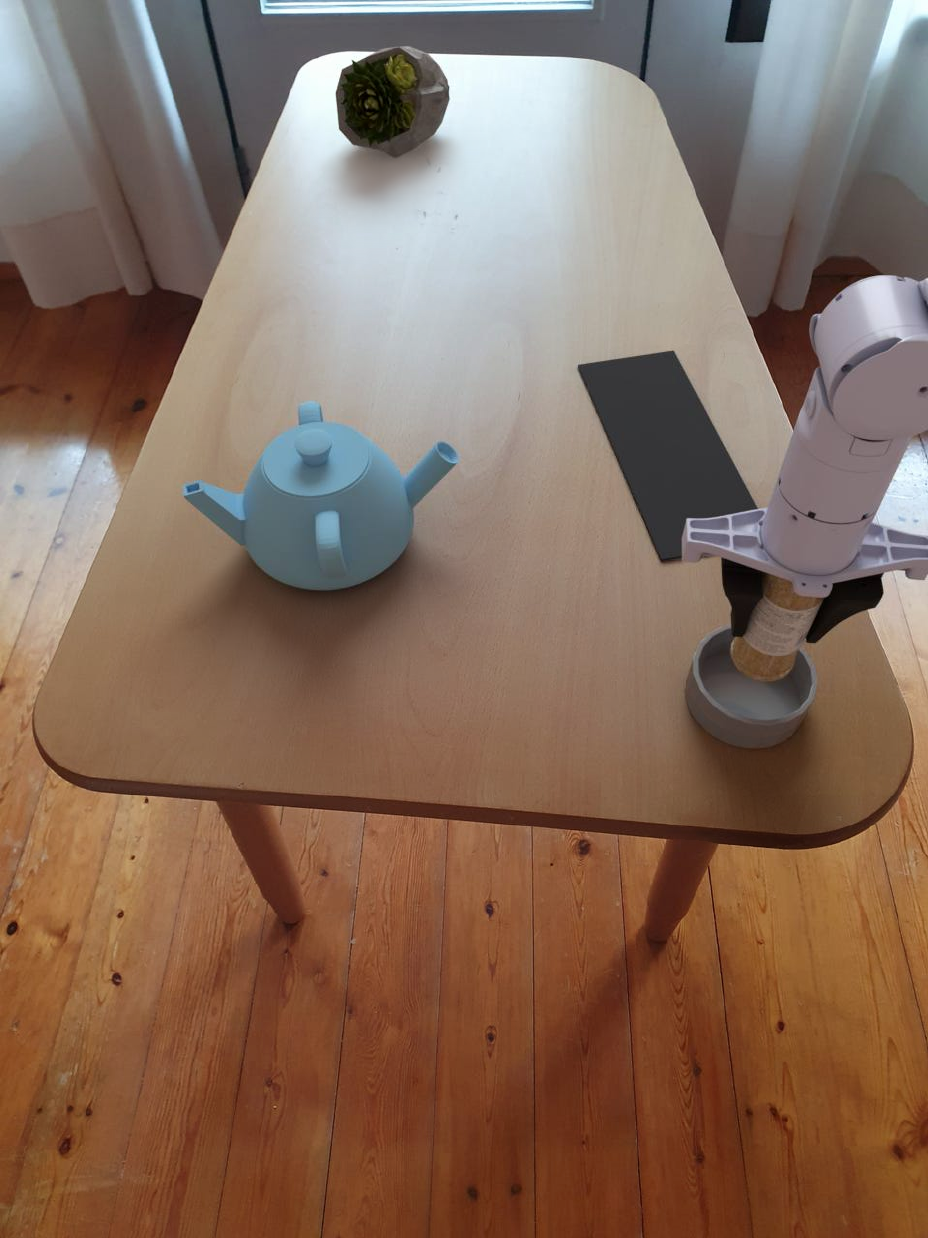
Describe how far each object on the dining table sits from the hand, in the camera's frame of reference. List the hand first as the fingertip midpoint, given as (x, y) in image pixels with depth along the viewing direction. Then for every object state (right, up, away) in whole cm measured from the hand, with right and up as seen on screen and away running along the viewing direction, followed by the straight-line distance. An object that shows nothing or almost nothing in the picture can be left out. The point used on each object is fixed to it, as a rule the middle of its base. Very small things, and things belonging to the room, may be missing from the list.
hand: (772, 628), depth 64 cm
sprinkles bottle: (0, -2, +3) cm, 4 cm away
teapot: (-32, +8, +18) cm, 37 cm away
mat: (-2, +17, +23) cm, 28 cm away
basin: (0, -5, +7) cm, 9 cm away
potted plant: (-30, +61, +57) cm, 88 cm away
